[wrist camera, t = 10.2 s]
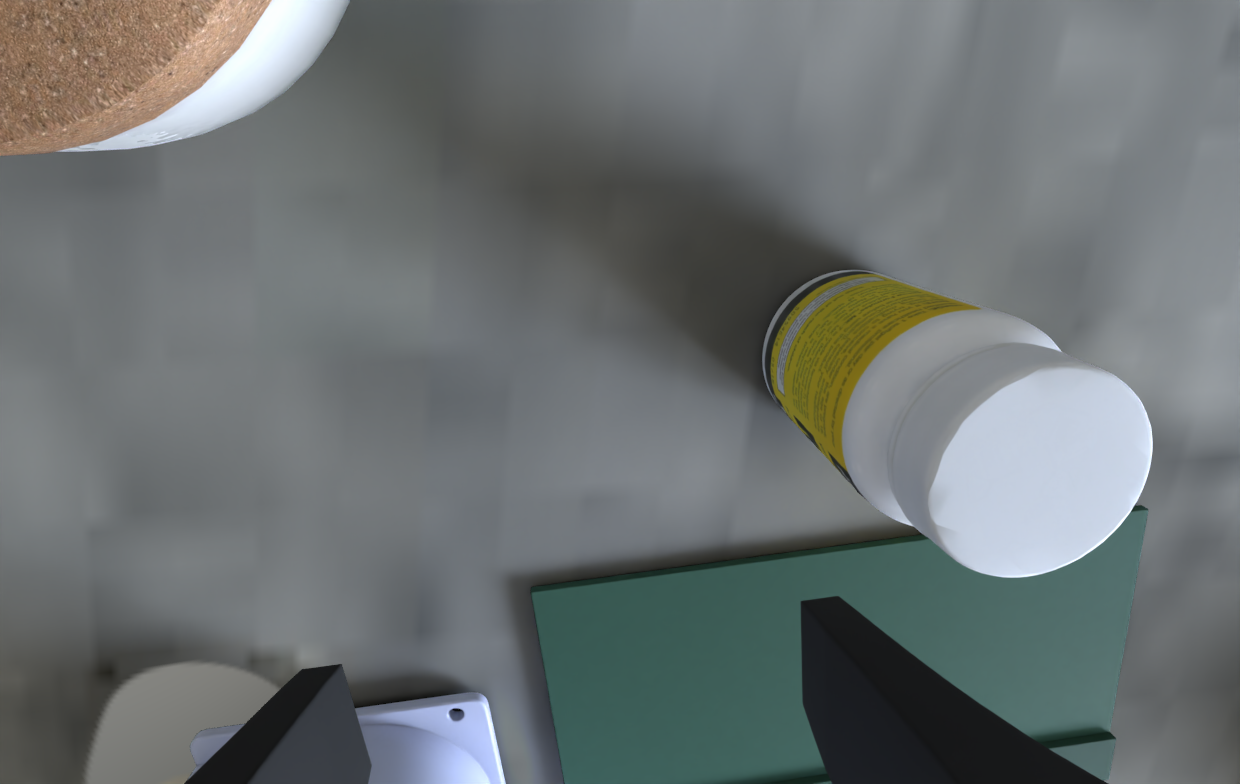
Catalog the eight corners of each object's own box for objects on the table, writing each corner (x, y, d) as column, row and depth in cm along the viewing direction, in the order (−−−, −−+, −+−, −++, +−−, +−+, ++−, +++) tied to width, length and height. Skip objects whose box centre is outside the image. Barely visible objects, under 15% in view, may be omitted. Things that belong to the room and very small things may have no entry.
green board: (576, 848, 24) (577, 865, 24) (530, 586, 20) (529, 598, 20) (1095, 771, 25) (1108, 784, 24) (1141, 504, 21) (1157, 513, 21)
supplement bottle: (735, 405, 19) (856, 568, 11) (792, 247, 18) (975, 302, 10) (882, 442, 20) (1094, 620, 12) (947, 293, 18) (1234, 380, 10)
